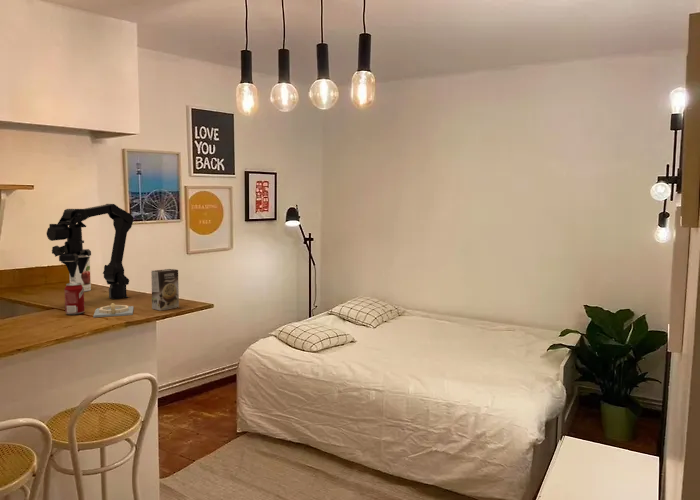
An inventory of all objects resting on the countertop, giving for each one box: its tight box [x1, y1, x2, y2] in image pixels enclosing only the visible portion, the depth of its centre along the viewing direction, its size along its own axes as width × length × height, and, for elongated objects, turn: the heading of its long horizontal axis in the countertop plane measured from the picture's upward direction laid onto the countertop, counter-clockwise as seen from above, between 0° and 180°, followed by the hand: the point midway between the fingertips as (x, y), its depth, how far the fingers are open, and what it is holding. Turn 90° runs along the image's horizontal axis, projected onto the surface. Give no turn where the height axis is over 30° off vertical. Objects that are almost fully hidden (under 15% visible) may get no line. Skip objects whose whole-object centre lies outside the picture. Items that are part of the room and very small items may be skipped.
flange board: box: [92, 302, 134, 319], centre depth 211 cm, size 14×14×5 cm
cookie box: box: [150, 268, 180, 311], centre depth 220 cm, size 9×6×16 cm
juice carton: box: [68, 256, 92, 293], centre depth 258 cm, size 8×9×19 cm
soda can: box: [63, 282, 85, 316], centre depth 209 cm, size 7×7×12 cm
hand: (76, 275), depth 223 cm, fingers open, 9 cm apart
